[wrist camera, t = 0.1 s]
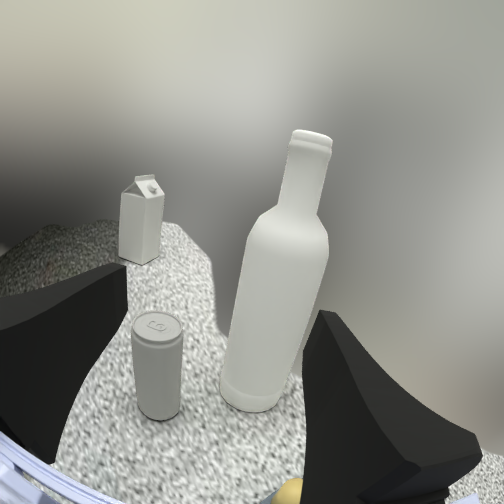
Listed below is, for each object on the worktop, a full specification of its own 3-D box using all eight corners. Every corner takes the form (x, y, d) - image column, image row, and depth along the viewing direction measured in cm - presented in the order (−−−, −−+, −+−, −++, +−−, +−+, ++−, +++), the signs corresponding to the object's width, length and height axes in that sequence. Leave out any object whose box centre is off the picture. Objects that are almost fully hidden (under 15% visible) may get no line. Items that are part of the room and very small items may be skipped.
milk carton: (118, 257, 61) (123, 174, 55) (136, 248, 67) (142, 172, 61) (141, 266, 60) (148, 179, 53) (159, 256, 66) (167, 176, 60)
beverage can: (170, 428, 25) (170, 349, 21) (130, 412, 26) (120, 329, 22) (185, 399, 30) (192, 319, 26) (148, 386, 30) (146, 304, 26)
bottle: (285, 379, 36) (353, 148, 26) (273, 421, 29) (362, 141, 19) (229, 362, 38) (276, 130, 27) (209, 400, 30) (259, 118, 20)
